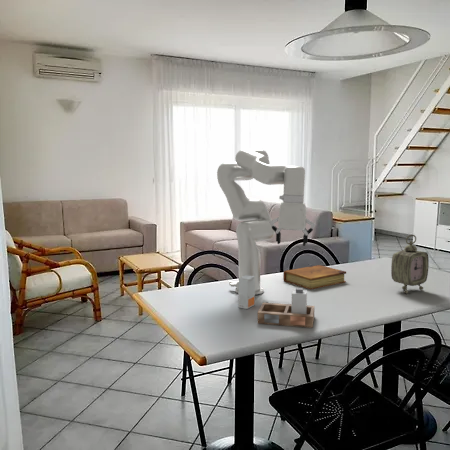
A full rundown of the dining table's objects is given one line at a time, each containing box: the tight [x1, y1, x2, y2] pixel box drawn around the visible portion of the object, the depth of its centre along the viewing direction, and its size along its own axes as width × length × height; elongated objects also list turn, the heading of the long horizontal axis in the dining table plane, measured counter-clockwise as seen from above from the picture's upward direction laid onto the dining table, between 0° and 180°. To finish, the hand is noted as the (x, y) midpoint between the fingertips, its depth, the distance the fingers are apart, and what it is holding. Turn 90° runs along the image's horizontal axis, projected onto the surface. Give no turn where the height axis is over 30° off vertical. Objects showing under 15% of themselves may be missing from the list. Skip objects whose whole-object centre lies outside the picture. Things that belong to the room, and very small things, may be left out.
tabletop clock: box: [390, 234, 430, 295], centre depth 194 cm, size 14×9×25 cm, turn 123°
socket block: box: [257, 302, 315, 329], centre depth 158 cm, size 19×12×4 cm, turn 76°
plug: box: [291, 287, 308, 314], centre depth 157 cm, size 5×5×11 cm
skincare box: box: [238, 275, 256, 310], centre depth 174 cm, size 6×4×12 cm
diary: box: [282, 264, 347, 291], centre depth 211 cm, size 23×19×6 cm
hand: (291, 244), depth 168 cm, fingers open, 9 cm apart
